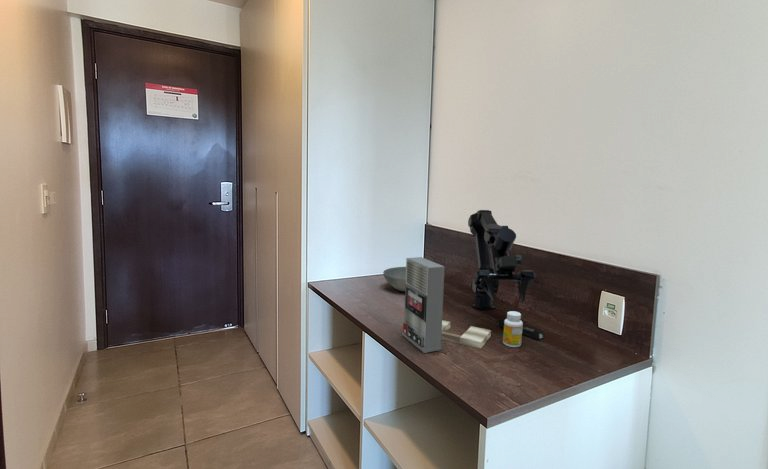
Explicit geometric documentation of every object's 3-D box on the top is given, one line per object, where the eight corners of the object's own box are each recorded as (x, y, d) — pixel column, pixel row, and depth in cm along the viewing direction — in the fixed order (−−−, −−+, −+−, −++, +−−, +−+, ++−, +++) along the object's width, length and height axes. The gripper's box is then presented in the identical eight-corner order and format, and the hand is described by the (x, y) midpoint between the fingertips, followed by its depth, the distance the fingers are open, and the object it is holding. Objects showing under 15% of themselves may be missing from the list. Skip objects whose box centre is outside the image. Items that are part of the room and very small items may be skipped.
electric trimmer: (502, 325, 142) (502, 316, 141) (544, 339, 130) (545, 329, 130) (495, 328, 139) (496, 319, 139) (538, 342, 128) (539, 332, 127)
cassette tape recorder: (401, 336, 129) (403, 258, 125) (418, 333, 132) (421, 257, 128) (423, 354, 117) (426, 268, 113) (441, 350, 119) (445, 266, 115)
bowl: (432, 297, 171) (433, 278, 169) (382, 295, 171) (382, 277, 170) (428, 283, 192) (428, 266, 190) (383, 282, 192) (383, 265, 191)
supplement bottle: (500, 340, 128) (502, 310, 126) (516, 340, 128) (519, 310, 127) (506, 347, 122) (508, 316, 121) (524, 347, 123) (526, 316, 121)
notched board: (440, 325, 139) (440, 319, 139) (490, 336, 131) (491, 330, 130) (427, 336, 129) (427, 330, 129) (480, 348, 121) (481, 342, 121)
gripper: (478, 245, 131) (484, 287, 122) (535, 246, 132) (547, 289, 122) (471, 263, 140) (477, 305, 131) (525, 264, 141) (535, 306, 131)
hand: (508, 301), depth 129 cm, fingers open, 9 cm apart
